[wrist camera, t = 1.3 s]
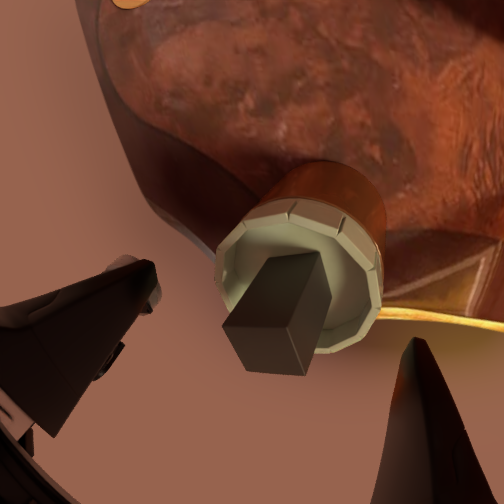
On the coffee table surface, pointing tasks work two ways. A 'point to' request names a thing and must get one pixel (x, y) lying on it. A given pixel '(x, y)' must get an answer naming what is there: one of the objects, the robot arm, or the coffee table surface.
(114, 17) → the coffee table surface
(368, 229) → the jar
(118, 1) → the coaster
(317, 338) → the block
